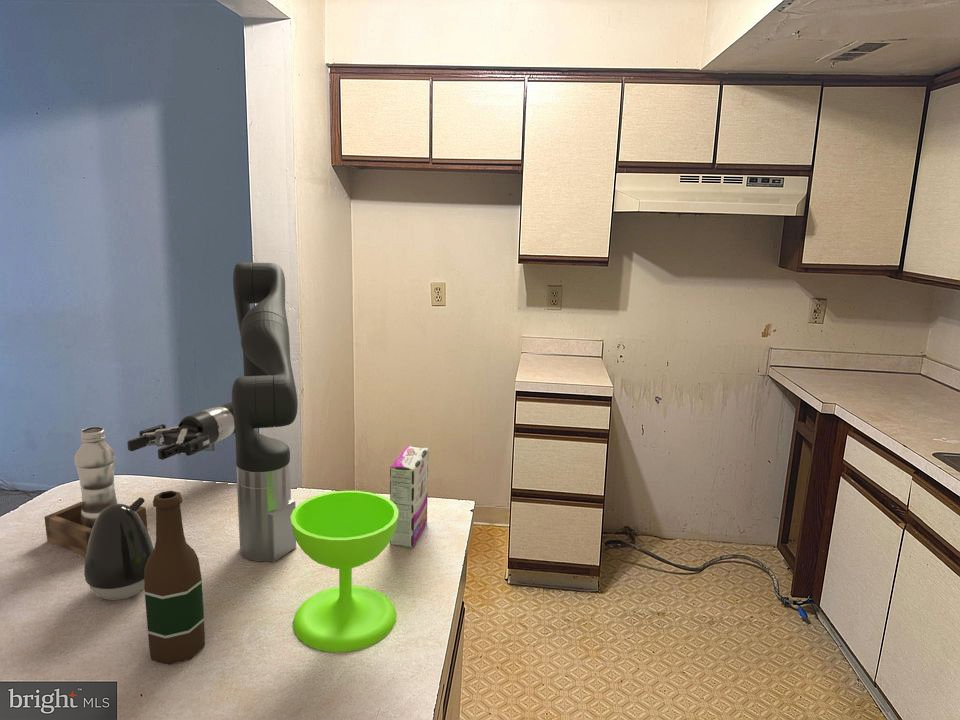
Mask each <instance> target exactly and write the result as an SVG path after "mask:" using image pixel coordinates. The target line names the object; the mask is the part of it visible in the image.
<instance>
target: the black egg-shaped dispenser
mask: <svg viewBox="0 0 960 720" xmlns="http://www.w3.org/2000/svg"><path fill="white" fill-rule="evenodd" d="M144 503H145V499H144V498H143V497H141V496H140V497H139V498H137V499H136V500H135V501H134V502H133V503H132V504H130V505H128V504H126V503H125V504H124V503H118V504H113V505H110V506H108V507H106V508H105V509H103V510H102V511H101V512H100V514H99V515H98V517H97V519H96V520H95V522H94V525H93V527H92V530H91V533H90V537H89V540H88V544H87V549H86V555H85V556H84V570H83V571H84V573H83V574H84V580H85V583H86V584H87V585H88V586H89V588H90V589H91V591H92V593H94V594H95V595H96V596H98V597H100V598H101V599H105V600H111V601H112V600H113V601H118V600H125V599H128V598H130V597H133V596H136V595H137V594H139V593H140V592H141V591H144V590H145V589H144V568H145V565H146V562H147V559H148V557H149V556H150V554H151V553H152V552H153V550H154V549H155V547H154V545H153V541H152V538H151V535H150V533H149V531H147V529H148V528H147V529H146V527H145V525H144V523H143V521H142V520H141V518H140V517H139V515H138V514H137V513H136V511H137V510H138V509H139V508H140V507H141V506H143V504H144Z"/></svg>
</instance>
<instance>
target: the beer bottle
mask: <svg viewBox="0 0 960 720" xmlns="http://www.w3.org/2000/svg"><path fill="white" fill-rule="evenodd" d="M181 503H183V499H182V495H181V492H179V491H176V490H166V491H162V492H159V493H157V494H156V495H154V497H153V501H152V506H153V508H155V543H154V550H153V552H152V553H151V554H150V556H149V557H148V559H147V562H146V565H145V568H144V589H143V590H144V599H145V601H144V602H145V612H146V626H147V627H146V628H147V638H148V647H149V655H150V660H151V661H153V662H157V663H160V664H164V665H167V666H171V665H174V664H178V663H181V662H186V661H187V662H188V661H190V660H192V659H193V658H194V657H195V656H196V655H197V654H199V652H201V651H202V649H204V648H205V647H206V646H205V645H206V631H205V630H206V628H205V626H206V625H205V611H204V595H203V594H204V593H203V579H202V572H201V566H200V560H199V557H198V555H197V553H196V551H195V549H194V548H193V547H192V546H191V545H189V543H188V542H187V539H186V537H185V532H184V524H183V517H182V510H181V509H182V508H181Z"/></svg>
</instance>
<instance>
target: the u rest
mask: <svg viewBox="0 0 960 720" xmlns="http://www.w3.org/2000/svg"><path fill="white" fill-rule="evenodd" d="M81 510H82V501H79V502H77V503H75V504H73V505H70V506H67V507H64V508H62V509H59V510H58V511H55V512H52V513H50V514H48V515H45V516H43V517H44V524H45V525H44V527H45V533H46V541H47V542H48V543H50V544H53V545H56V546H58V547H61V548H63V549H66V550H69V551H71V552H74V553H77V554H79V553H80V555H81V554H82V555H81V556H84V555H86V549H87V544H88V540H89V537H90V533H91V530H92V528H89V527H86V526H83V525H82V524H81ZM136 513H137V514H138V515H139V517H140V518H141V520H142V521H143V523H144V525H145V527H146V529H147V531H148V519H147V507H144V506H143V505H141V506H140V508H139V509H138V510H137V511H136ZM148 532H149V531H148Z"/></svg>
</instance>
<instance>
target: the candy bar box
mask: <svg viewBox="0 0 960 720" xmlns="http://www.w3.org/2000/svg"><path fill="white" fill-rule="evenodd" d="M428 484H429V447H420V446H413V445H406V446H405V447H404V448H403V450H402V451H401V453H400V454H399V455H398V457H396V459H395V460H394V461H393V462H392V464H391V465H390V467H389V499H390V500H391V501H392V502H393V503H394V504H396V506H397V508H398V510H399V512H398V521H397V527H396V531H395V533H394V535H393V537H392V539H391V541H390V542H389V545H391V546H396V547H406V548H414V547H415V544H416V543H417V541H418V539H419V537H420V535H421V533H422V531H423V530H424V527H425V526H426V524H427V522H428V490H429V489H428V488H429V487H428Z"/></svg>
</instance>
